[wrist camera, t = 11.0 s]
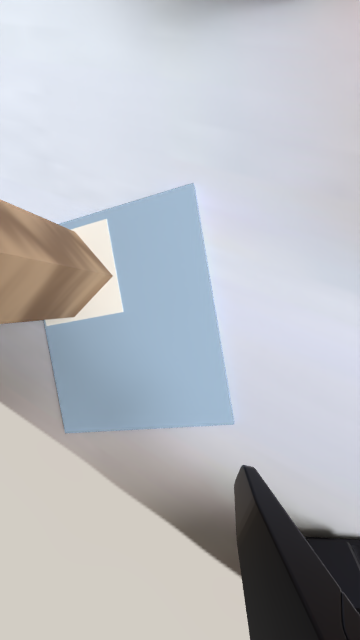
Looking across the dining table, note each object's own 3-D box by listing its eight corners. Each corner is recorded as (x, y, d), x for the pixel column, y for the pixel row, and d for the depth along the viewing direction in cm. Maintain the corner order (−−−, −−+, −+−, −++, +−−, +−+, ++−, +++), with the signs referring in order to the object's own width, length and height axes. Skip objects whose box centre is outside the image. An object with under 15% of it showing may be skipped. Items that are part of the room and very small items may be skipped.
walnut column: (112, 275, 19) (-76, 236, 8) (74, 317, 21) (-141, 336, 9) (74, 231, 20) (-154, 132, 8) (39, 274, 21) (-207, 239, 9)
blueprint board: (234, 421, 18) (234, 425, 18) (68, 430, 22) (64, 433, 22) (194, 185, 18) (193, 182, 17) (30, 235, 22) (26, 233, 21)
